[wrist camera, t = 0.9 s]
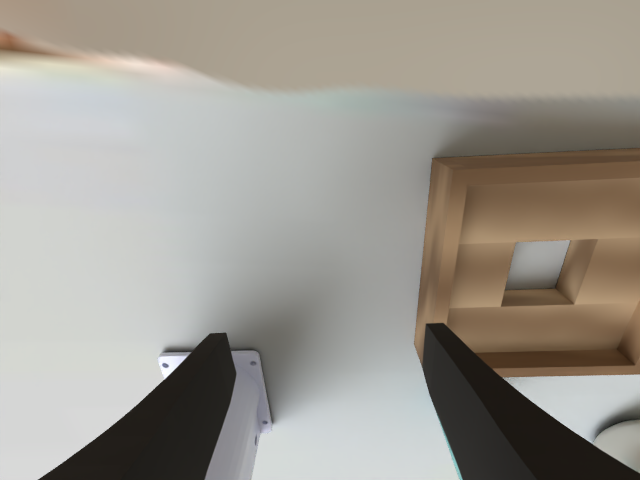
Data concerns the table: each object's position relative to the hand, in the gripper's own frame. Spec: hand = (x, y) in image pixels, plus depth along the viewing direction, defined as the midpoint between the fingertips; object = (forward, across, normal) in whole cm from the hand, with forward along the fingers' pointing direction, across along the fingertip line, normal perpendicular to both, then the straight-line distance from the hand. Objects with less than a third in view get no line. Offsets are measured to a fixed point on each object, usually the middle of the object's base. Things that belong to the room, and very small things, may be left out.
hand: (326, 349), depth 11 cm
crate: (+10, -13, +2) cm, 17 cm away
